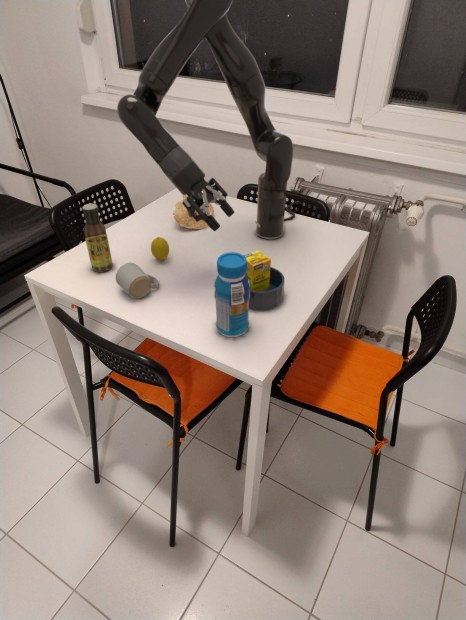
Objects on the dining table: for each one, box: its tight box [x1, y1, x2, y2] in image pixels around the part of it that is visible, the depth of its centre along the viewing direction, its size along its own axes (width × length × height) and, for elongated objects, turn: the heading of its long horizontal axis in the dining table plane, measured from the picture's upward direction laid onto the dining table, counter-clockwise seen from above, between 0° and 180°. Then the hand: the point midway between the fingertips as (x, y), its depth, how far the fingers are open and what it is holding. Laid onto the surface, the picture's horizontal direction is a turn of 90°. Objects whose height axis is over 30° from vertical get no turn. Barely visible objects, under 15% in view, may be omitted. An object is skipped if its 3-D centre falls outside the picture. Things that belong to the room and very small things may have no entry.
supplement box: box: [243, 249, 272, 292], centre depth 107 cm, size 6×6×11 cm
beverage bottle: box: [213, 251, 250, 338], centre depth 94 cm, size 8×8×20 cm
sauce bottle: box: [82, 203, 113, 273], centre depth 116 cm, size 6×6×20 cm
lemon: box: [150, 236, 170, 261], centre depth 123 cm, size 6×6×8 cm
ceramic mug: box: [115, 262, 160, 299], centre depth 110 cm, size 11×8×8 cm
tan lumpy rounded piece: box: [172, 194, 215, 230], centre depth 145 cm, size 18×14×8 cm
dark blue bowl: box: [249, 266, 286, 312], centre depth 108 cm, size 13×13×6 cm
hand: (225, 221), depth 101 cm, fingers open, 8 cm apart
